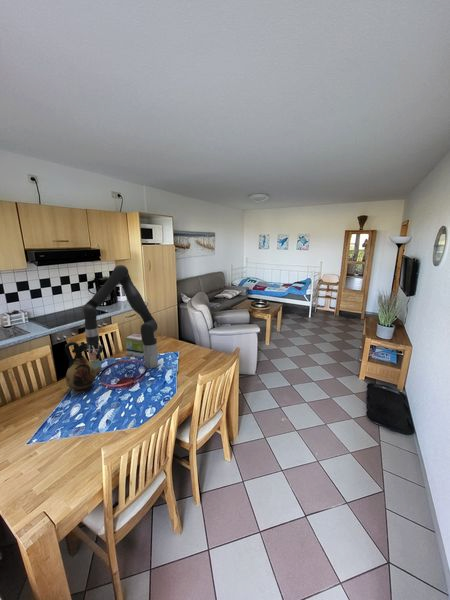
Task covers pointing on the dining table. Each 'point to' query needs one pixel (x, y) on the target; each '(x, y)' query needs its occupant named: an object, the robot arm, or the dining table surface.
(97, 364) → the teal middle block
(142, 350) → the tea box
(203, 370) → the dining table surface
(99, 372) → the walnut base block
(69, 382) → the ceramic jug
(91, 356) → the terracotta cube
